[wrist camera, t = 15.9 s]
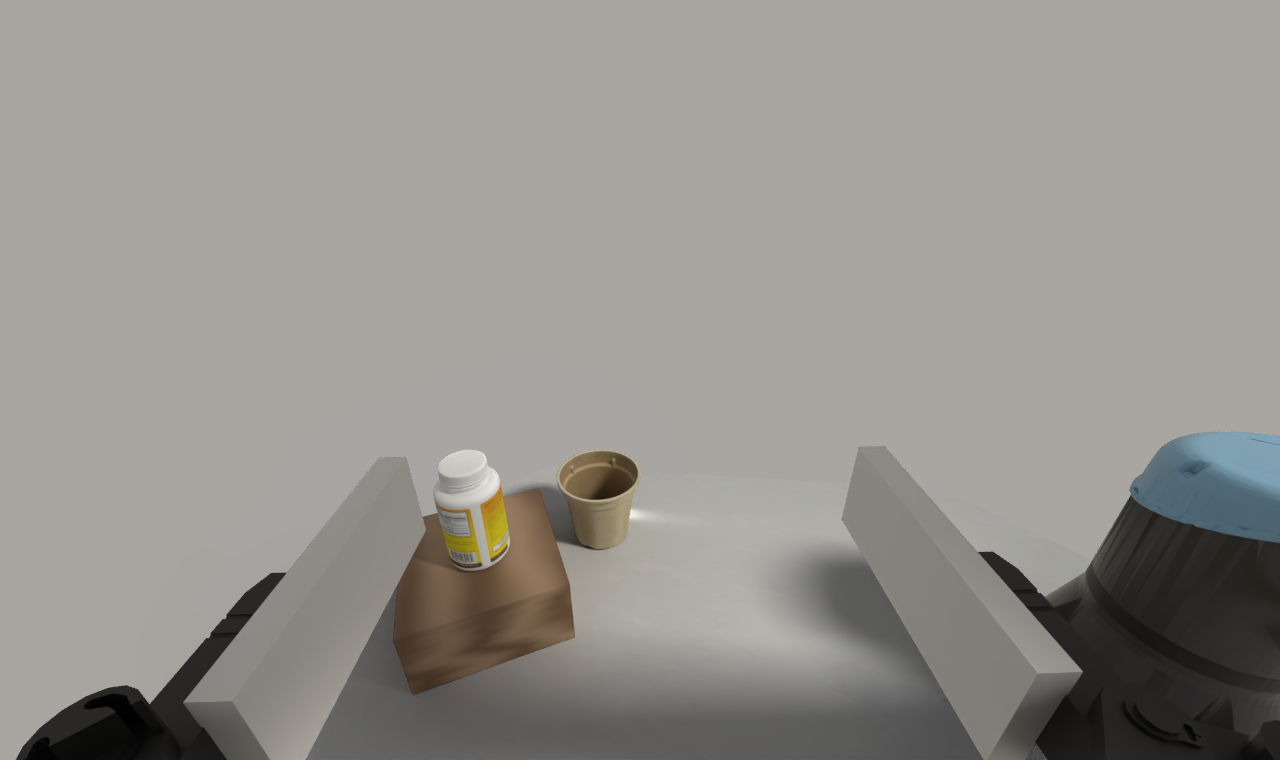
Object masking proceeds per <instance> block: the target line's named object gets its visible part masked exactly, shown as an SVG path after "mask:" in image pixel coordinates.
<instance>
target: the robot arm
mask: <svg viewBox="0 0 1280 760" xmlns="http://www.w3.org/2000/svg"><path fill="white" fill-rule="evenodd" d="M1129 491H1130V492H1131V496H1130V497H1129V499H1128V501H1127V502H1126V504H1125V506H1124V507H1123V509H1122V511H1121V512H1120V514H1119V516H1118V517H1117V519H1116V521H1115V522H1114V524H1113V526H1112V528H1111V529H1110V531H1109V533H1108V534H1107V536H1106V538H1105V539H1104V541H1103V543H1102V544H1101V546H1100V548H1099V550H1098V551H1097V553H1096V554H1095V556H1094V558H1093V560H1092V562H1091V564H1090V565H1089V567H1088V568H1087V570H1086V572H1085V573H1083V574H1081V575H1080V576H1078V577H1076V578H1075V579H1073V580H1072V581H1070V582H1068V583H1067V584H1065V585H1063V586H1062V587H1060V588H1059V589H1057V590H1055V591H1054V592H1052V593H1051V594H1049V595H1047V596H1046V597H1044V596H1043V595H1042V594H1041V593H1038V592H1037V589H1036V588H1035V586H1034V585H1033V584H1032V583H1031V582H1030V581H1029V580H1028V579H1027V578H1026V577H1025V576H1024V575H1023V574H1022V573H1021V572H1020V571H1019V569H1017V568H1016V567H1014V566H1013V565H1012V564H1010V563H1009V562H1007V561H1006V560H1004V559H1003V558H1001V557H1000V556H999V555H997V554H996V553H994V552H977V551H976V550H975V548H974V547H973V546H972V545H971V544H970V543H969V542H968V541H967V539H966V538H965V537H964V536H963V535H962V534H961V533H960V531H959V530H958V529H957V528H956V527H955V526H954V525H953V524H952V522H951V521H950V520H949V519H948V518H947V517H946V516H945V514H944V513H943V512H942V511H941V510H940V509H939V508H938V506H937V505H936V504H935V503H934V502H933V501H932V500H931V499H930V497H929V496H928V495H927V494H926V493H925V492H924V491H923V489H922V488H921V487H920V486H919V485H918V484H917V483H916V481H914V479H913V478H912V477H911V476H910V475H909V474H908V472H907V471H906V470H905V469H904V468H903V467H902V466H901V465H900V463H899V462H898V461H897V460H896V459H895V458H894V457H893V455H892V454H891V453H890V452H889V451H888V450H887V449H886V447H884V446H881V447H859V448H858V453H857V457H856V461H855V465H854V470H853V474H852V478H851V482H850V486H849V490H848V495H847V499H846V503H845V507H844V511H843V516H842V521H843V522H844V524H845V526H846V527H847V529H848V531H849V532H850V534H851V536H852V538H853V539H854V541H855V543H856V544H857V546H858V548H859V549H860V551H861V553H862V554H863V556H864V558H865V560H866V561H867V563H868V565H869V566H870V568H871V570H872V571H873V573H874V575H875V577H876V578H877V580H878V582H879V583H880V585H881V587H882V588H883V590H884V592H885V594H886V595H887V597H888V599H889V600H890V602H891V604H892V605H893V607H894V609H895V610H896V612H897V614H898V616H899V617H900V619H901V621H902V622H903V624H904V626H905V627H906V629H907V631H908V633H909V634H910V636H911V638H912V639H913V641H914V643H915V644H916V646H917V648H918V649H919V651H920V653H921V655H922V656H923V658H924V660H925V661H926V663H927V665H928V666H929V668H930V670H931V672H932V673H933V675H934V677H935V678H936V680H937V682H938V683H939V685H940V687H941V688H942V690H943V692H944V694H945V695H946V697H947V699H948V700H949V702H950V704H951V705H952V707H953V709H954V711H955V712H956V714H957V716H958V717H959V719H960V721H961V722H962V724H963V726H964V727H965V729H966V731H967V733H968V734H969V736H970V738H971V739H972V741H973V743H974V744H975V746H976V748H977V750H978V751H979V753H980V755H981V756H982V758H983V760H1026V758H1027V757H1028V755H1029V754H1030V752H1031V751H1032V749H1033V748H1034V746H1035V745H1036V743H1037V745H1038V746H1039V748H1040V749H1041V751H1042V752H1043V754H1044V755H1045V756H1046V758H1047V759H1048V760H1280V436H1277V435H1269V434H1260V433H1247V432H1206V433H1205V432H1204V433H1197V434H1190V435H1187V436H1183V437H1179V438H1177V439H1174V440H1172V441H1170V442H1168V443H1167V444H1165V445H1164V446H1162V447H1161V448H1160V449H1159V450H1158V452H1157V453H1156V454H1155V456H1154V457H1153V458H1152V460H1151V461H1150V463H1149V464H1148V466H1147V467H1146V469H1145V470H1144V472H1143V473H1142V474H1141V475H1140V476H1138V477H1137V478H1136V479H1135V480H1134V481H1133V482H1132V484H1131V487H1130V490H1129ZM425 531H426V528H425V524H424V521H423V517H422V513H421V510H420V506H419V502H418V499H417V495H416V491H415V488H414V484H413V480H412V477H411V473H410V469H409V466H408V462H407V458H406V457H386V458H378V460H377V461H376V462H375V464H374V465H373V466H372V467H371V468H370V470H369V471H368V472H367V473H366V475H365V476H364V477H363V479H362V480H361V481H360V482H359V483H358V485H357V486H356V487H355V488H354V490H353V491H352V492H351V493H350V495H349V496H348V497H347V499H346V500H345V501H344V502H343V503H342V505H341V506H340V507H339V509H338V510H337V511H336V512H335V513H334V515H333V516H332V517H331V518H330V520H329V521H328V522H327V523H326V525H325V526H324V527H323V528H322V530H321V531H320V532H319V533H318V535H317V536H316V537H315V538H314V540H313V541H312V542H311V543H310V545H309V546H308V547H307V549H306V550H305V551H304V552H303V553H302V555H301V556H300V557H299V558H298V560H297V561H296V562H295V563H294V565H293V566H292V567H291V568H290V570H289V571H288V572H287V573H271V574H269V575H268V576H267V577H265V578H264V579H263V580H261V581H260V582H259V583H258V584H256V585H255V586H254V587H252V588H251V589H250V590H248V591H247V592H246V593H245V594H244V595H243V596H242V597H241V599H240V600H239V601H238V602H237V603H236V604H235V605H234V607H233V608H232V609H231V610H230V611H229V612H228V614H227V617H226V619H223V620H222V621H221V622H220V623H219V624H218V625H217V626H216V628H215V629H214V630H213V631H212V632H211V636H210V638H206V639H205V640H204V642H203V643H202V644H201V645H200V646H199V647H198V649H197V650H196V651H195V652H194V653H193V655H192V656H191V657H190V658H189V659H188V660H187V661H186V663H185V664H184V665H183V666H182V667H181V669H180V670H179V671H178V672H177V673H176V674H175V675H174V677H173V678H172V679H171V680H170V681H169V682H168V684H167V685H166V686H165V687H164V688H163V689H162V691H161V692H160V693H159V694H158V695H157V696H156V698H155V699H154V700H153V701H152V702H151V703H150V704H149V703H148V702H147V701H146V699H145V698H144V697H143V695H142V694H141V693H140V692H139V690H138V689H135V688H132V687H129V686H118V687H111V688H107V689H104V690H101V691H99V692H96V693H94V694H91V695H89V696H86V697H84V698H83V699H81V700H79V701H78V702H76V703H74V704H72V705H70V706H69V707H67V708H65V709H64V710H62V711H61V712H59V713H58V714H57V715H56V716H54V717H53V718H52V719H51V720H50V721H48V722H47V723H46V724H44V725H43V726H42V727H41V728H39V729H38V731H37V732H36V733H35V734H34V735H33V736H32V737H31V739H29V741H28V742H27V743H26V744H25V745H24V746H23V747H22V749H21V751H20V753H19V755H18V757H17V759H16V760H306V758H307V756H308V754H309V752H310V751H311V749H312V747H313V745H314V743H315V741H316V739H317V737H318V735H319V733H320V731H321V730H322V728H323V726H324V724H325V722H326V720H327V718H328V716H329V714H330V712H331V710H332V709H333V707H334V705H335V703H336V701H337V699H338V697H339V695H340V693H341V691H342V689H343V688H344V686H345V684H346V682H347V680H348V678H349V676H350V674H351V672H352V670H353V668H354V667H355V665H356V663H357V661H358V659H359V657H360V655H361V653H362V651H363V649H364V647H365V646H366V644H367V642H368V640H369V638H370V636H371V634H372V632H373V630H374V628H375V626H376V625H377V623H378V621H379V619H380V617H381V615H382V613H383V611H384V609H385V607H386V605H387V604H388V602H389V600H390V598H391V596H392V594H393V592H394V590H395V588H396V586H397V584H398V583H399V581H400V579H401V577H402V575H403V573H404V571H405V569H406V567H407V565H408V563H409V562H410V560H411V558H412V556H413V554H414V552H415V550H416V548H417V546H418V544H419V542H420V541H421V539H422V537H423V535H424V533H425Z"/></svg>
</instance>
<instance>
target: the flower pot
mask: <svg viewBox="0 0 1280 760" xmlns="http://www.w3.org/2000/svg"><path fill="white" fill-rule="evenodd" d="M640 477H641V471H640V467H639V465H638V464H637V463H636V461H635V460H634V459H632V458H631V457H630V456H628V455H626V454H624V453H621V452H618V451H614V450H605V449H600V450H590V451H586V452H582V453H579V454H577V455H574V456H572V457H570V458H569V459H568V460H566V461H565V462H564V463H563V464H562V465H561V466H560V468H559V470H558V472H557V477H556V478H557V484H558V487H559V488H560V490H561V491H562V492H563V494H564V497H565V498H566V499H567V503H568V506H569V510H570V514H571V517H572V521H573V525H574V529H575V534H576V537H577V539H578V540H579V541H580V542H581V543H582V544H583V545H587V546H590V547H592V548H594V549H606V548H610V547H613V546H615V545H617V544H618V543H620V542H621V541H622V539H623V538H624V536H625V535H626V533H627V528H628V521H629V515H630V509H631V503H632V497H633V494H634V492H635V489H636V487H637V485H638V484H639V481H640Z"/></svg>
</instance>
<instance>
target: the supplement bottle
mask: <svg viewBox="0 0 1280 760" xmlns="http://www.w3.org/2000/svg"><path fill="white" fill-rule="evenodd" d="M438 473H439V480H438V482H437V483H436V485H435V487H434V492H433V495H434V500H435V504H436V508H437V512H438V516H439V520H440V524H441V527H442V531H443V535H444V539H445V543H446V546H447V550H448V554H449V557H450V560H451V562H452V563H453V564H454V565H455V566H456V567H458V568H459V569H462V570H466V571H478V570H482V569H486V568H488V567H490V566H492V565H494V564H496V563H497V562H498V561H500V560H501V559H502V558H503V557H504V555H505V554H506V553H507V551H508V549H509V546H510V535H509V529H508V524H507V518H506V513H505V507H504V501H503V495H502V489H501V484H500V479H499V476H498V474H497V473H496V471H494V469H492V468H490V467H488V465H487V460H486V457H485V455H484V454H483V453H482V452H480V451H476V450H463V451H458V452H455V453H452V454H450V455H448V456H447V457H445V458H444V459H443V460H442V461H441V462H440V463H439V465H438Z"/></svg>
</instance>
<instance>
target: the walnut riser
mask: <svg viewBox="0 0 1280 760" xmlns="http://www.w3.org/2000/svg"><path fill="white" fill-rule="evenodd" d="M503 501H504V507H505V513H506V518H507V524H508V529H509V535H510V546H509V549H508V551H507V553H506V554H505V555H504V557H503V558H502V559H501V560H500V561H498V562H497V563H496V564H494V565H492V566H490V567H488V568H486V569H482V570H478V571H466V570H462V569H459V568H458V567H456V566H455V565H454V564H453V563H452V562H451V560H450V557H449V554H448V550H447V546H446V543H445V539H444V535H443V531H442V527H441V524H440V520H439V516H438V513H436V514H432V515H429V516H425V517H423V521H424V524H425V528H426V531H425V533H424V535H423V537H422V539H421V541H420V542H419V544H418V546H417V548H416V550H415V552H414V554H413V556H412V558H411V560H410V562H409V563H408V565H407V567H406V569H405V571H404V573H403V575H402V577H401V579H400V581H399V583H398V586H397V598H396V610H395V623H394V635H393V642H394V644H395V647H396V650H397V653H398V655H399V658H400V661H401V664H402V666H403V669H404V672H405V675H406V678H407V680H408V683H409V686H410V689H411V691H412V694H413V695H414V694H417V693H420V692H422V691H425V690H428V689H431V688H434V687H436V686H439V685H442V684H445V683H448V682H450V681H453V680H456V679H459V678H462V677H464V676H467V675H470V674H473V673H476V672H478V671H481V670H484V669H487V668H490V667H492V666H495V665H498V664H501V663H504V662H506V661H509V660H512V659H515V658H518V657H520V656H523V655H526V654H529V653H532V652H534V651H537V650H540V649H543V648H546V647H548V646H551V645H554V644H557V643H560V642H562V641H565V640H568V639H571V638H574V637H575V632H574V623H573V613H572V603H571V593H570V584H569V581H568V578H567V575H566V571H565V568H564V565H563V562H562V559H561V556H560V553H559V549H558V546H557V543H556V540H555V537H554V534H553V530H552V527H551V524H550V521H549V518H548V515H547V512H546V508H545V505H544V502H543V499H542V496H541V493H540V489H535V490H531V491H527V492H522V493H518V494H514V495H510V496H506V497H503Z"/></svg>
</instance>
